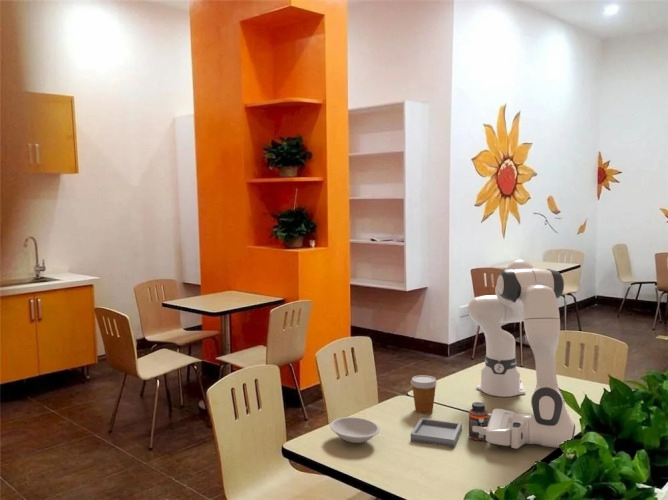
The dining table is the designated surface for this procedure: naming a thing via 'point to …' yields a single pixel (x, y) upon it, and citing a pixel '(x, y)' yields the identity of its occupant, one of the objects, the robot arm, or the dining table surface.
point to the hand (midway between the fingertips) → (474, 422)
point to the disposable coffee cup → (424, 393)
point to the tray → (436, 432)
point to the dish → (354, 429)
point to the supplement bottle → (477, 420)
